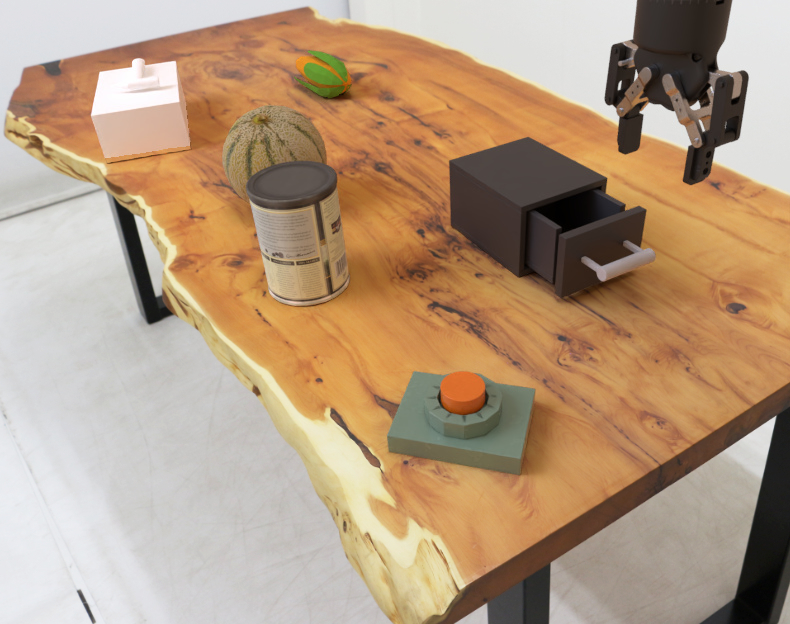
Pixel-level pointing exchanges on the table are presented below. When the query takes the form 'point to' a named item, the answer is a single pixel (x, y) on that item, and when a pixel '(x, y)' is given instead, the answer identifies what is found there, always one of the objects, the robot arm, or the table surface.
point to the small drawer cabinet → (511, 194)
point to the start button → (462, 393)
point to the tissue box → (140, 109)
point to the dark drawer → (584, 240)
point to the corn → (324, 74)
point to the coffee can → (300, 231)
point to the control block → (464, 426)
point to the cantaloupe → (269, 143)
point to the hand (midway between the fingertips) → (659, 166)
